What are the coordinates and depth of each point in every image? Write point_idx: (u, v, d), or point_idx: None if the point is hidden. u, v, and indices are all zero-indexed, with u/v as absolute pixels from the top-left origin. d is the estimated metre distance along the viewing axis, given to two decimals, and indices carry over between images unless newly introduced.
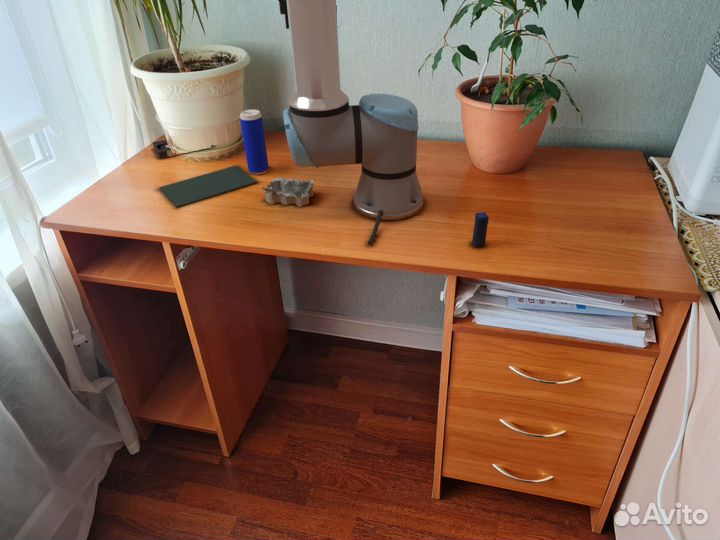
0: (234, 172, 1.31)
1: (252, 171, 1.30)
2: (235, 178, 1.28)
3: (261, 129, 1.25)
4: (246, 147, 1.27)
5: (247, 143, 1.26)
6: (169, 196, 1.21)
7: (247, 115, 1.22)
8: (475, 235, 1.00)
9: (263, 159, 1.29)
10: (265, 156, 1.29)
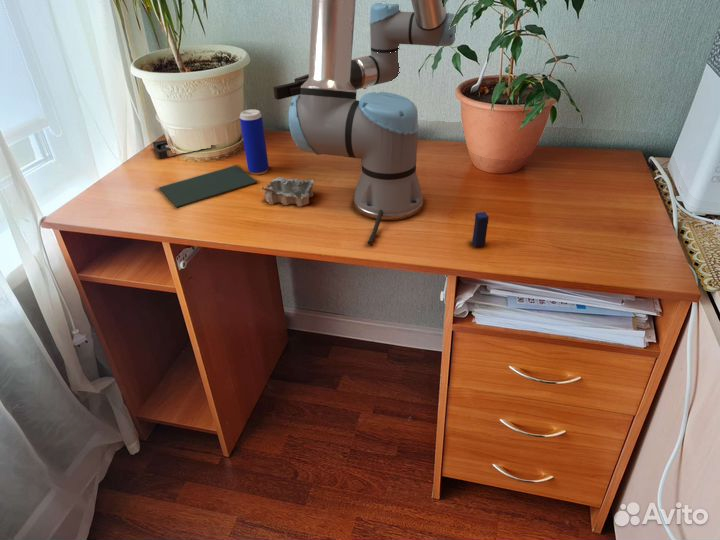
0: (234, 172, 1.31)
1: (252, 171, 1.30)
2: (235, 178, 1.28)
3: (261, 129, 1.25)
4: (246, 147, 1.27)
5: (247, 143, 1.26)
6: (169, 196, 1.21)
7: (247, 115, 1.22)
8: (475, 235, 1.00)
9: (263, 159, 1.29)
10: (265, 156, 1.29)
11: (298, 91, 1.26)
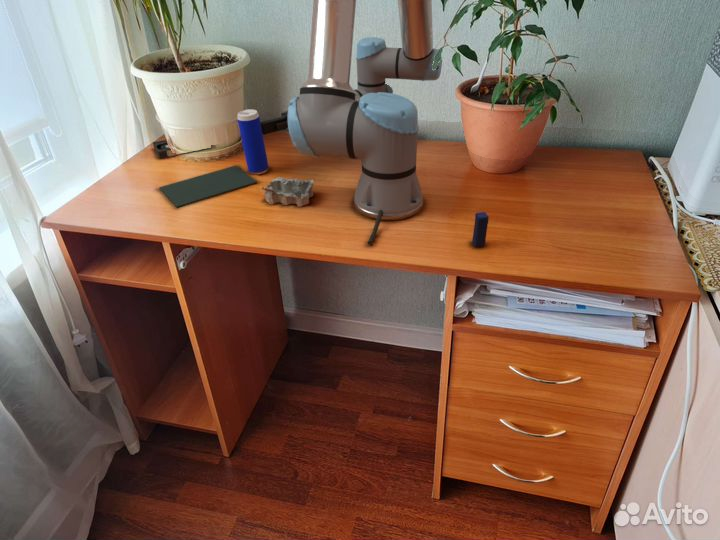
0: (234, 172, 1.31)
1: (252, 171, 1.30)
2: (235, 178, 1.28)
3: (259, 129, 1.25)
4: (245, 147, 1.27)
5: (246, 143, 1.25)
6: (169, 196, 1.21)
7: (244, 115, 1.22)
8: (475, 235, 1.00)
9: (263, 158, 1.29)
10: (264, 156, 1.29)
11: (283, 126, 1.29)
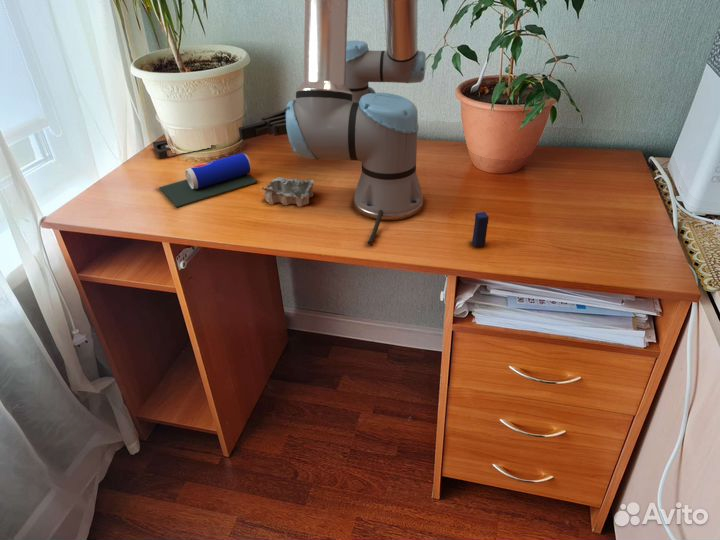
0: None
1: (247, 173, 1.29)
2: (235, 178, 1.28)
3: (207, 173, 1.22)
4: None
5: None
6: (169, 196, 1.21)
7: (192, 185, 1.22)
8: (475, 235, 1.00)
9: (237, 167, 1.26)
10: (234, 165, 1.25)
11: (263, 131, 1.26)
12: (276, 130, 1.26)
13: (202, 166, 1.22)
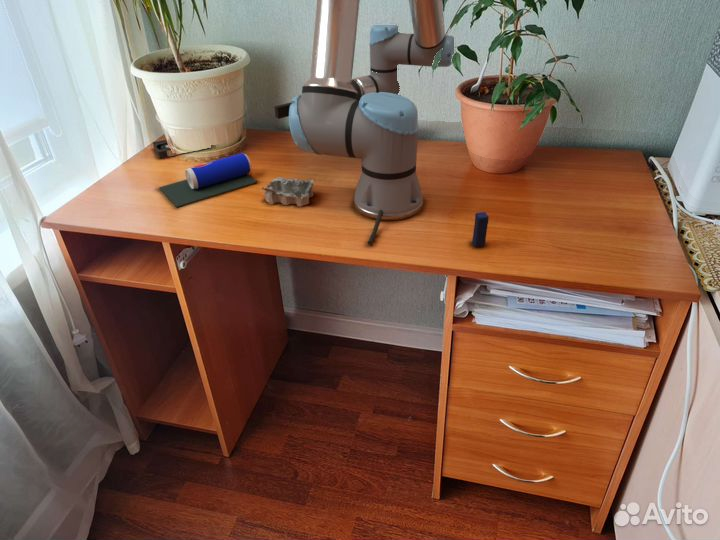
0: None
1: (247, 173, 1.29)
2: (235, 178, 1.28)
3: (207, 173, 1.22)
4: None
5: None
6: (169, 196, 1.21)
7: (192, 185, 1.22)
8: (475, 235, 1.00)
9: (237, 167, 1.26)
10: (234, 164, 1.25)
11: None
12: None
13: (202, 166, 1.22)
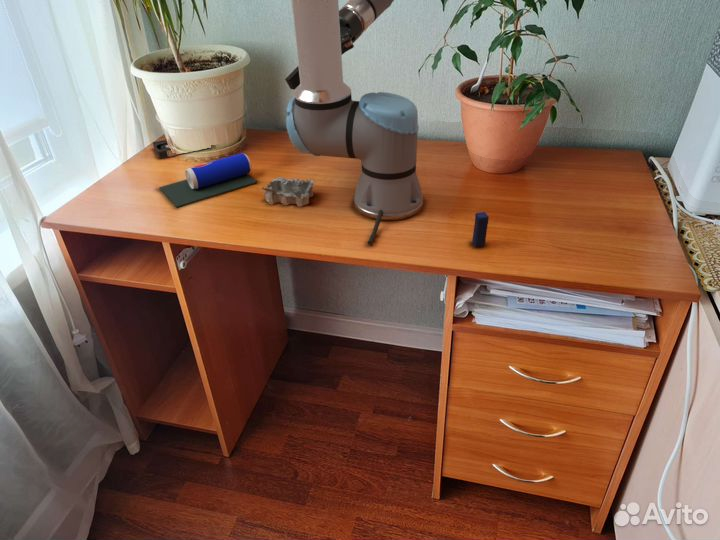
0: None
1: (247, 173, 1.29)
2: (235, 178, 1.28)
3: (207, 173, 1.22)
4: None
5: None
6: (169, 196, 1.21)
7: (192, 185, 1.22)
8: (475, 235, 1.00)
9: (237, 167, 1.26)
10: (234, 164, 1.25)
11: None
12: None
13: (202, 166, 1.22)
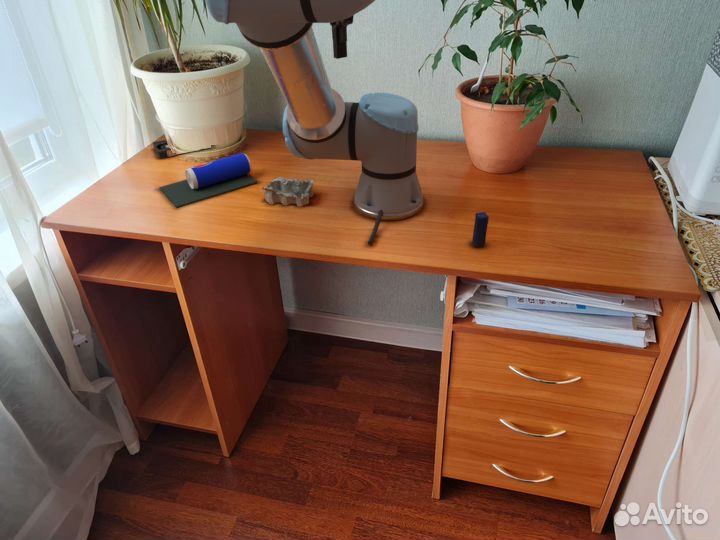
0: None
1: (247, 173, 1.29)
2: (235, 178, 1.28)
3: (207, 173, 1.22)
4: None
5: None
6: (169, 196, 1.21)
7: (192, 185, 1.22)
8: (475, 235, 1.00)
9: (237, 167, 1.26)
10: (234, 164, 1.25)
11: (344, 33, 1.14)
12: (347, 22, 1.11)
13: (202, 166, 1.22)
